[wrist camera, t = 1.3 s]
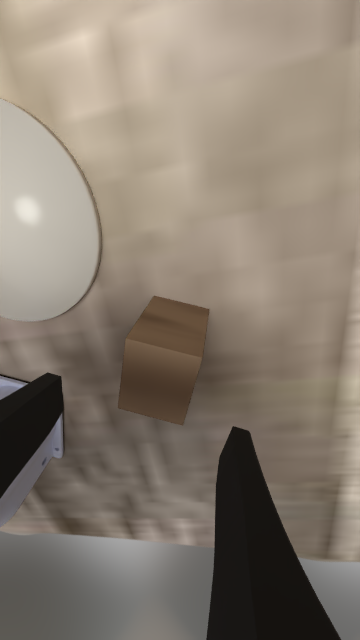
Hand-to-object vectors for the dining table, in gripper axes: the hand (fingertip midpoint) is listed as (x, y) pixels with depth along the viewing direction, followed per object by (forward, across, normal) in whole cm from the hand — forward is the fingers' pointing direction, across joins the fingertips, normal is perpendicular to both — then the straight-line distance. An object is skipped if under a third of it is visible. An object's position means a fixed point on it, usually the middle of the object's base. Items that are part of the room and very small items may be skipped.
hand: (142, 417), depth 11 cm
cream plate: (+9, +13, -3) cm, 16 cm away
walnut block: (+9, 0, +2) cm, 10 cm away
